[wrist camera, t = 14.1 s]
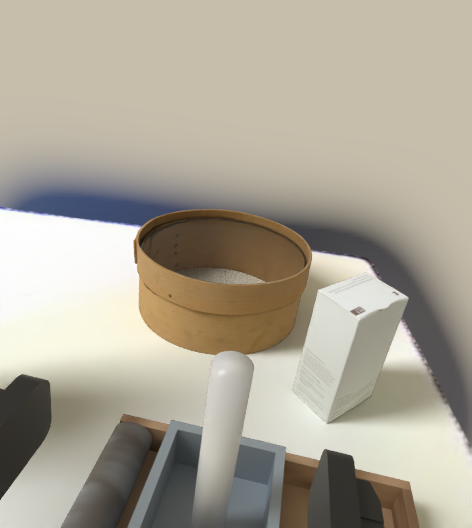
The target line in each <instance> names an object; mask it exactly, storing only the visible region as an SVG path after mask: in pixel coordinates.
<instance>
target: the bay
mask: <svg viewBox="0 0 472 528" xmlns="http://www.w3.org/2000/svg"><path fill="white" fill-rule="evenodd" d="M168 427H169V425H168V424H164V423H160V422H155V421H151V420H147V419H143V418H139V417H134V416H130V415H126V414H123V416H122V418H121V420H120V424H118V425H117V426H116V428H115V430H114V432H113V433H112V435H111V437H110V439H109V441H108V442H107V444H106V446H105V448H104V450H103V452H102V453H101V455H100V457H99V459H98V461H97V462H96V464H95V466H94V468H93V470H92V472H91V473H90V475H89V477H88V479H87V481H86V482H85V484H84V486H83V488H82V490H81V492H80V493H79V495H78V497H77V499H76V501H75V503H74V504H73V506H72V508H71V510H70V512H69V513H68V515H67V517H66V519H65V521H64V523H63V524H62V526H61V528H128V525H129V523H130V520H131V518H132V515H133V513H134V510H135V508H136V506H137V503H138V501H139V498H140V496H141V493H142V491H143V488H144V486H145V483H146V481H147V479H148V476H149V474H150V471H151V469H152V466H153V464H154V461H155V459H156V456H157V454H158V452H159V449H160V447H161V444H162V442H163V439H164V437H165V434H166V432H167V430H168ZM319 462H320V461H319V460H315V459H311V458H307V457H302V456H298V455H294V454H290V453H286V452H285V464H284V476H283V487H282V499H281V511H280V522H279V528H308V499H309V493H310V488H311V485H312V482H313V479H314V476H315V473H316V470H317V467H318V464H319ZM355 475H356V478H357V479H361V480H365V481H369V482H370V483H371V485H372V487H373V489H374V491H375V492H376V494H377V496H378V498H379V500H380V502H381V507H382V513H383V519H384V527H385V528H419V525H418V520H417V515H416V510H415V506H414V501H413V496H412V492H411V487H410V482H407V481H403V480H399V479H395V478H391V477H386V476H382V475H378V474H374V473H370V472H365V471H361V470H357V469H355Z"/></svg>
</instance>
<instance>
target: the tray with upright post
mask: <svg viewBox="0 0 472 528" xmlns="http://www.w3.org/2000/svg"><path fill="white" fill-rule="evenodd" d="M253 371H254V365H253V362H252V361H251V359H250V358H249V357H247V356H246V355H244V354H242V353H240V352H236V351H224V352H220V353H218V354H216V355H215V356H214V357H213V359H212V361H211V368H210V376H209V384H208V392H207V400H206V408H205V416H204V424H203V427H199V426H195V425H191V424H187V423H182V422H178V421H174V420H171V422H170V425H169V427H168V430H167V432H166V434H165V437H164V439H163V442H162V444H161V447H160V449H159V452H158V454H157V456H156V459H155V461H154V464H153V466H152V469H151V471H150V474H149V476H148V479H147V481H146V483H145V486H144V488H143V491H142V493H141V496H140V498H139V501H138V503H137V506H136V508H135V510H134V513H133V515H132V518H131V520H130V523H129V525H128V528H279V522H280V511H281V499H282V487H283V476H284V464H285V452H286V447H284V446H280V445H275V444H271V443H267V442H263V441H258V440H254V439H250V438H246V437H242V436H241V435H242V430H243V424H244V419H245V414H246V408H247V403H248V398H249V392H250V387H251V382H252V376H253Z"/></svg>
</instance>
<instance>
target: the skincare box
mask: <svg viewBox="0 0 472 528" xmlns="http://www.w3.org/2000/svg"><path fill="white" fill-rule="evenodd" d="M407 301H408V297H407V296H405V295H404V294H402V293H400V292H398V291H397V290H395V289H394V288H392V287H390V286H388V285H387V284H385V283H383V282H382V281H380V280H378V279H377V278H375V277H374V276H372V275H370V274H369V273H367V272H365V273H363V274H360V275H357V276H355V277H352V278H349V279H347V280H344V281H341V282H338V283H336V284H333V285H330V286H327V287H325V288H322V289H319V290H318V293H317V297H316V301H315V305H314V309H313V313H312V317H311V321H310V325H309V328H308V332H307V336H306V340H305V344H304V347H303V351H302V355H301V359H300V363H299V367H298V371H297V375H296V379H295V383H294V386H293V391H294V392H295V393H296V394H297V395H298V396H299V397H300V398H301V399H302V400H303V401H304V402H305V403H306V404H307V405H308V406H309V407H310V408H311V409H312V410H313V411H314V412H315V413H316V414H317V415H318V416H319V417H320V418H321V419H322V420H323V421H324V422H325V423H329V422H331V421H332V420H334V419H336V418H337V417H339V416H340V415H342V414H344V413H345V412H347V411H348V410H350V409H352V408H353V407H355V406H356V405H358V404H359V403H361V402H362V401H364V400H365V399H367V398H369V397H371V395H372V392H373V389H374V387H375V384H376V382H377V379H378V377H379V374H380V371H381V369H382V366H383V364H384V361H385V358H386V356H387V353H388V351H389V348H390V345H391V343H392V340H393V338H394V335H395V332H396V330H397V327H398V325H399V322H400V319H401V317H402V314H403V312H404V309H405V306H406V304H407Z"/></svg>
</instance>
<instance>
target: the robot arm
mask: <svg viewBox="0 0 472 528" xmlns="http://www.w3.org/2000/svg"><path fill="white" fill-rule="evenodd" d="M50 424H51V397H50V383H49V381H48V380H44V379H40V378H36V377H32V376H28V375H24V374H22V375H20V376H18V377H17V378H16V379H15V380H14V381H13V382H12V383H11V384H10V385H9V386H8V387H7V388H6V389H5V390H3V389H0V500H1V498H2V497H3V496H4V494H5V493H6V491H7V490H8V489H9V487H10V486H11V485H12V483H13V482H14V480H15V479H16V478H17V476H18V475H19V474H20V472H21V471H22V470H23V468H24V467H25V465H26V464H27V463H28V461H29V460H30V459H31V457H32V456H33V454H34V453H35V452H36V450H37V449H38V448H39V446H40V445H41V444H42V442H43V441H44V439H45V437H46V435H47V433H48V431H49V428H50ZM308 528H385V527H384V519H383V513H382V507H381V502H380V500H379V498H378V496H377V494H376V492H375V491H374V489H373V487H372V485H371V483H370V482H369V481H365V480H361V479H357V478H356V475H355V466H354V460H353V457H352V456H351V455H347V454H343V453H339V452H335V451H331V450H327V449H325V450H324V451H323V453H322V456H321V459H320V462H319V464H318V467H317V470H316V473H315V476H314V479H313V482H312V485H311V488H310V493H309V499H308Z"/></svg>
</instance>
